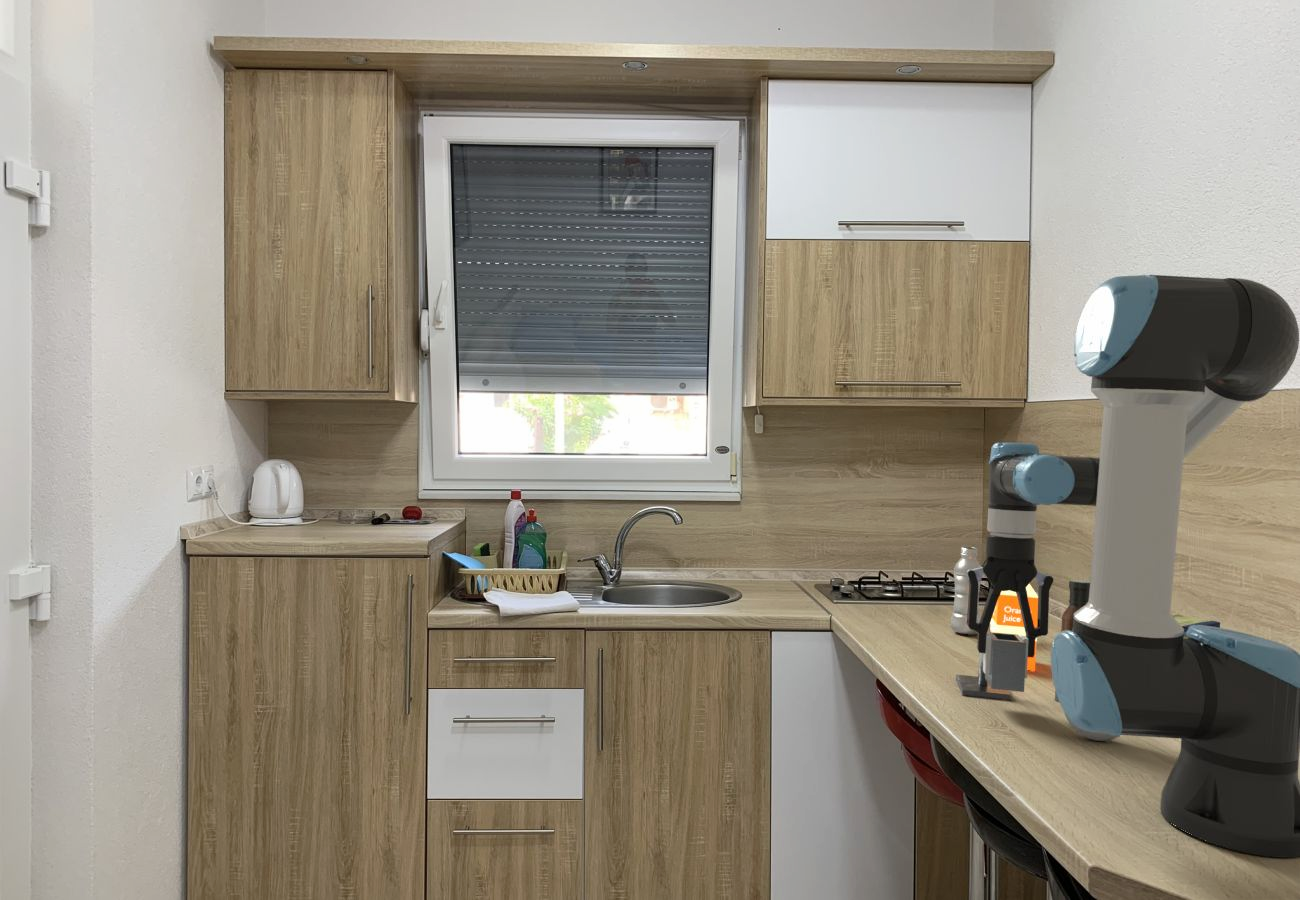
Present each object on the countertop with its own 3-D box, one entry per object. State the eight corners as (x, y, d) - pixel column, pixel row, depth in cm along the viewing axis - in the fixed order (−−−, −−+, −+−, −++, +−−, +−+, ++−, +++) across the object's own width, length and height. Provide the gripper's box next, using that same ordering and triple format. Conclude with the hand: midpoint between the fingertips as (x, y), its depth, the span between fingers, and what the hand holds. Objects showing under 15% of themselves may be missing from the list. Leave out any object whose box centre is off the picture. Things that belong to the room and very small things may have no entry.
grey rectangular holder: (1023, 692, 142) (1026, 642, 142) (991, 688, 143) (993, 639, 143) (1016, 681, 149) (1018, 634, 149) (985, 678, 150) (987, 631, 150)
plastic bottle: (950, 635, 201) (955, 548, 200) (949, 629, 207) (953, 545, 207) (980, 638, 199) (985, 550, 199) (978, 632, 206) (983, 547, 205)
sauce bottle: (1099, 695, 158) (1106, 585, 158) (1062, 691, 159) (1069, 582, 159) (1089, 684, 165) (1095, 579, 164) (1053, 681, 166) (1059, 576, 165)
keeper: (1010, 700, 152) (1014, 631, 152) (962, 695, 154) (966, 627, 154) (1001, 684, 162) (1004, 620, 162) (955, 679, 164) (959, 616, 164)
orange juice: (993, 667, 174) (999, 567, 174) (987, 656, 183) (992, 561, 182) (1036, 671, 172) (1041, 570, 172) (1027, 660, 181) (1033, 564, 180)
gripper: (1063, 536, 148) (1057, 674, 148) (951, 529, 152) (945, 663, 152) (1074, 540, 141) (1068, 685, 141) (956, 533, 145) (950, 674, 145)
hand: (1004, 674), depth 146 cm, fingers closed on grey rectangular holder, 5 cm apart
